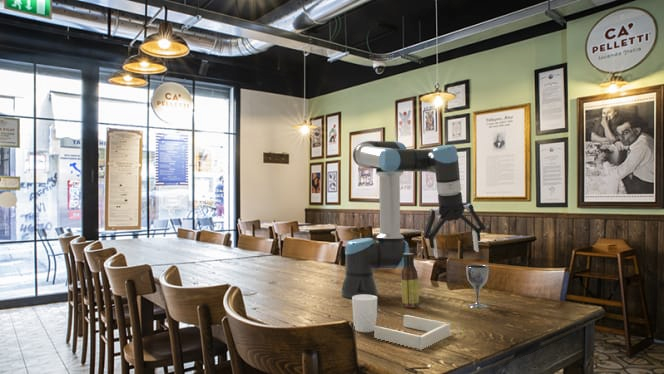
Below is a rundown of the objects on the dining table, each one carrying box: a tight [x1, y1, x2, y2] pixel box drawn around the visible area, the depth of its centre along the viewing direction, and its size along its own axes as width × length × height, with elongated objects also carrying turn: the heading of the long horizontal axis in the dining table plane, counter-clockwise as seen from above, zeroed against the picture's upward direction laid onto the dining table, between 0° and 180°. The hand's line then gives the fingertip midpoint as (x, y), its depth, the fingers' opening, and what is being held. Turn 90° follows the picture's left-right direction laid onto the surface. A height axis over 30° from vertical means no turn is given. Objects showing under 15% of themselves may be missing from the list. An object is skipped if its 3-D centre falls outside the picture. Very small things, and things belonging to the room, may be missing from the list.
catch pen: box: [373, 314, 451, 351], centre depth 132 cm, size 16×17×4 cm
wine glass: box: [466, 264, 489, 309], centre depth 169 cm, size 8×8×15 cm
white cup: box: [351, 294, 378, 333], centre depth 140 cm, size 8×8×10 cm
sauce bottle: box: [400, 252, 420, 309], centre depth 168 cm, size 7×6×20 cm
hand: (456, 253), depth 151 cm, fingers open, 13 cm apart
